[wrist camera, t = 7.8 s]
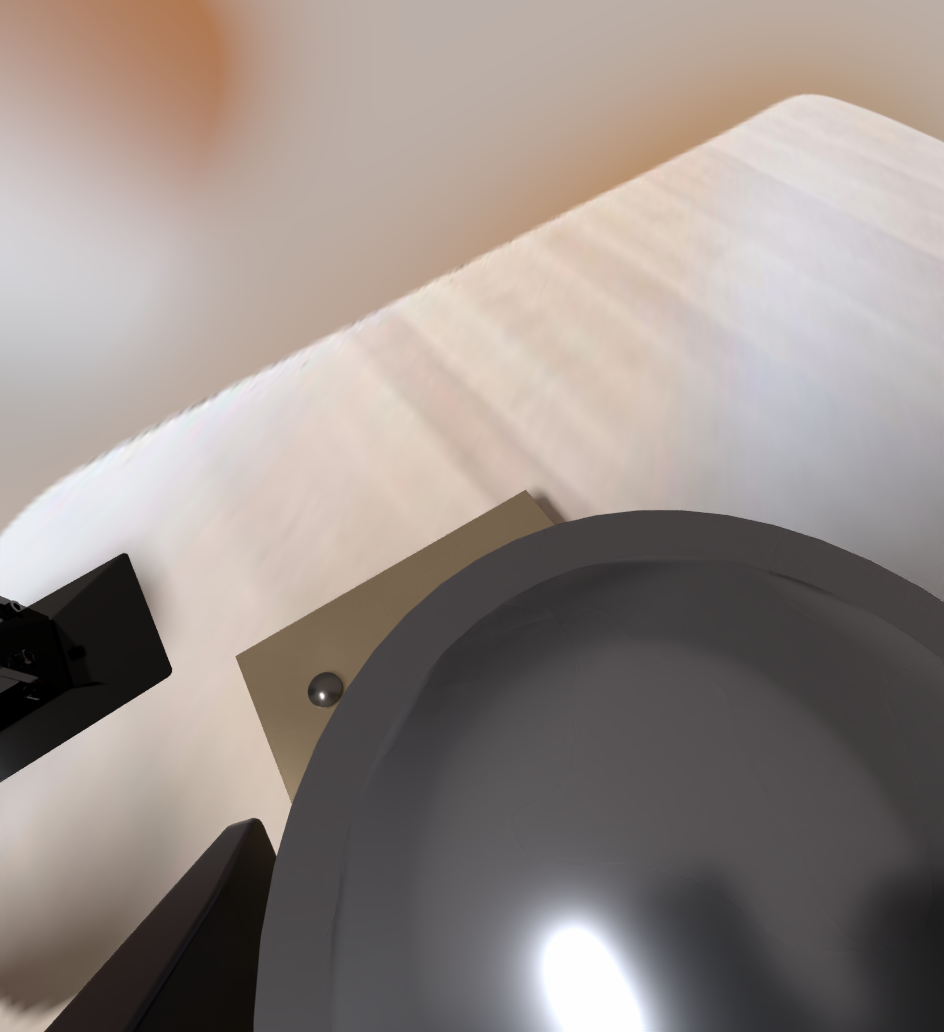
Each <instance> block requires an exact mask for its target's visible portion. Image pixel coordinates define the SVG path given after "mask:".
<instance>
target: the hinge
mask: <svg viewBox="0 0 944 1032" xmlns="http://www.w3.org/2000/svg"><path fill="white" fill-rule="evenodd" d="M551 526H554V523H553V522H552V521H551V520H550V519H549V517H548V516H547V515H546V514H545V513H544V511H543V510H542V509H541V508H540V507H539V505H538V504H537V503H536V502H535V500H534V499H533V498H532V497H531V496H530V494H529V493H528V492H527V491H526V490H525V491H523V492H521V493H519V494H518V495H516V496H514V497H512V498H511V499H509V500H507V501H505V502H504V503H502V504H500V505H499V506H497V507H495V508H493V509H492V510H490V511H488V512H486V513H485V514H483V515H481V516H479V517H478V518H476V519H474V520H472V521H471V522H469V523H467V524H465V525H464V526H462V527H460V528H458V529H457V530H455V531H453V532H451V533H450V534H448V535H446V536H444V537H443V538H441V539H439V540H437V541H436V542H434V543H432V544H430V545H429V546H427V547H425V548H423V549H422V550H420V551H418V552H417V553H415V554H413V555H411V556H410V557H408V558H406V559H404V560H403V561H401V562H399V563H397V564H396V565H394V566H392V567H390V568H389V569H387V570H385V571H383V572H382V573H380V574H378V575H376V576H375V577H373V578H371V579H369V580H368V581H366V582H364V583H362V584H361V585H359V586H357V587H355V588H354V589H352V590H350V591H348V592H347V593H345V594H343V595H342V596H340V597H338V598H336V599H335V600H333V601H331V602H329V603H328V604H326V605H324V606H322V607H321V608H319V609H317V610H315V611H314V612H312V613H310V614H308V615H307V616H305V617H303V618H301V619H300V620H298V621H296V622H294V623H293V624H291V625H289V626H287V627H286V628H284V629H282V630H280V631H279V632H277V633H275V634H273V635H272V636H270V637H268V638H266V639H265V640H263V641H261V642H260V643H258V644H256V645H254V646H253V647H251V648H249V649H247V650H246V651H244V652H242V653H240V654H239V655H237V656H236V659H237V661H238V664H239V667H240V669H241V672H242V674H243V677H244V680H245V682H246V685H247V688H248V690H249V693H250V695H251V698H252V701H253V703H254V706H255V708H256V711H257V714H258V716H259V719H260V722H261V724H262V727H263V729H264V732H265V735H266V737H267V740H268V743H269V745H270V748H271V750H272V753H273V756H274V758H275V761H276V764H277V766H278V769H279V771H280V774H281V777H282V779H283V782H284V784H285V787H286V790H287V792H288V795H289V798H290V800H291V803H293V799H294V797H295V795H296V792H297V790H298V787H299V785H300V782H301V780H302V778H303V775H304V773H305V770H306V768H307V765H308V763H309V761H310V758H311V756H312V753H313V751H314V748H315V746H316V744H317V742H318V740H319V738H320V736H321V734H322V732H323V731H324V729H325V727H326V725H327V723H328V721H329V720H330V718H331V716H332V714H333V712H334V710H335V709H336V707H337V705H338V703H339V701H340V699H341V698H342V696H343V694H344V692H345V691H346V689H347V688H348V687H349V685H350V684H351V682H352V681H353V680H354V678H355V677H356V675H357V674H358V672H359V671H360V670H361V668H362V667H363V665H364V664H365V662H366V661H367V660H368V658H369V657H370V655H371V654H372V653H373V651H374V650H375V649H376V648H377V647H378V645H379V644H380V643H381V642H382V641H383V640H384V639H385V638H386V636H387V635H388V634H389V633H390V632H391V631H392V630H393V629H394V628H395V626H396V625H397V624H398V623H399V622H400V621H401V620H402V619H403V618H404V616H405V615H406V614H407V613H408V612H410V611H411V610H412V609H413V608H414V607H415V606H416V605H418V604H419V603H420V602H421V601H422V600H423V599H424V598H426V597H427V596H428V595H429V594H430V593H431V592H432V591H434V590H435V589H436V588H437V587H438V586H439V585H440V584H442V583H443V582H445V581H446V580H448V579H449V578H450V577H452V576H453V575H455V574H456V573H458V572H459V571H461V570H462V569H464V568H465V567H467V566H468V565H470V564H471V563H472V562H474V561H475V560H477V559H479V558H481V557H483V556H485V555H486V554H488V553H490V552H492V551H494V550H496V549H498V548H500V547H502V546H504V545H506V544H508V543H510V542H512V541H514V540H516V539H518V538H521V537H524V536H527V535H529V534H532V533H535V532H538V531H540V530H543V529H546V528H548V527H551Z"/></svg>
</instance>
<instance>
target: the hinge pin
mask: <svg viewBox="0 0 944 1032" xmlns="http://www.w3.org/2000/svg"><path fill="white" fill-rule="evenodd" d="M254 1032H944V602H942V601H941V600H939V599H938V598H936V597H935V596H933V595H931V594H930V593H928V592H927V591H925V590H924V589H922V588H921V587H919V586H917V585H915V584H913V583H911V582H909V581H908V580H906V579H904V578H902V577H900V576H898V575H896V574H894V573H892V572H891V571H889V570H887V569H885V568H883V567H881V566H879V565H877V564H875V563H874V562H872V561H870V560H867V559H865V558H863V557H860V556H858V555H855V554H853V553H851V552H848V551H846V550H844V549H841V548H839V547H836V546H834V545H832V544H829V543H827V542H825V541H822V540H819V539H816V538H813V537H810V536H807V535H804V534H800V533H797V532H794V531H791V530H788V529H785V528H781V527H778V526H775V525H771V524H767V523H762V522H757V521H752V520H748V519H743V518H738V517H733V516H729V515H721V514H711V513H702V512H692V511H683V510H641V511H630V512H621V513H612V514H604V515H596V516H591V517H587V518H583V519H579V520H574V521H570V522H566V523H562V524H557V525H554V526H551V527H548V528H546V529H543V530H540V531H538V532H535V533H532V534H529V535H527V536H524V537H521V538H518V539H516V540H514V541H512V542H510V543H508V544H506V545H504V546H502V547H500V548H498V549H496V550H494V551H492V552H490V553H488V554H486V555H485V556H483V557H481V558H479V559H477V560H475V561H474V562H472V563H471V564H470V565H468V566H467V567H465V568H464V569H462V570H461V571H459V572H458V573H456V574H455V575H453V576H452V577H450V578H449V579H448V580H446V581H445V582H443V583H442V584H440V585H439V586H438V587H437V588H436V589H435V590H434V591H432V592H431V593H430V594H429V595H428V596H427V597H426V598H424V599H423V600H422V601H421V602H420V603H419V604H418V605H416V606H415V607H414V608H413V609H412V610H411V611H410V612H408V613H407V614H406V615H405V616H404V618H403V619H402V620H401V621H400V622H399V623H398V624H397V625H396V626H395V628H394V629H393V630H392V631H391V632H390V633H389V634H388V635H387V636H386V638H385V639H384V640H383V641H382V642H381V643H380V644H379V645H378V647H377V648H376V649H375V650H374V651H373V653H372V654H371V655H370V657H369V658H368V660H367V661H366V662H365V664H364V665H363V667H362V668H361V670H360V671H359V672H358V674H357V675H356V677H355V678H354V680H353V681H352V682H351V684H350V685H349V687H348V688H347V689H346V691H345V692H344V694H343V696H342V698H341V699H340V701H339V703H338V705H337V707H336V709H335V710H334V712H333V714H332V716H331V718H330V720H329V721H328V723H327V725H326V727H325V729H324V731H323V732H322V734H321V736H320V738H319V740H318V742H317V744H316V746H315V748H314V751H313V753H312V756H311V758H310V761H309V763H308V765H307V768H306V770H305V773H304V775H303V778H302V780H301V782H300V785H299V787H298V790H297V792H296V795H295V797H294V799H293V803H292V806H291V810H290V813H289V816H288V820H287V823H286V827H285V830H284V833H283V837H282V840H281V844H280V847H279V850H278V854H277V857H276V861H275V864H274V869H273V874H272V880H271V885H270V891H269V896H268V901H267V907H266V912H265V918H264V923H263V928H262V934H261V940H260V952H259V963H258V975H257V987H256V999H255V1011H254Z"/></svg>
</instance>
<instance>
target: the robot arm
mask: <svg viewBox="0 0 944 1032" xmlns="http://www.w3.org/2000/svg"><path fill="white" fill-rule="evenodd" d="M276 857H277V856H276V854H275V852H274V849H273V847H272V844H271V842H270V840H269V837H268V835H267V833H266V830H265V828H264V825H263V824H262V822H261V821H260V820H259V819H257V818H251V819H248V820H245V821H241V822H238V823H235V824H232V825H230V826H228V827H227V828H226V829H225V830H224V831H223V832H222V833H221V834H220V836H219V837H218V838H217V839H216V840H215V841H214V842H213V843H212V845H211V846H210V847H209V848H208V849H207V850H206V851H205V852H204V853H203V855H202V856H201V857H200V858H199V859H198V860H197V861H196V862H195V864H194V865H193V866H192V867H191V868H190V869H189V870H188V871H187V873H186V874H185V875H184V876H183V877H182V878H181V879H180V880H179V881H178V883H177V884H176V885H175V886H174V887H173V888H172V889H171V890H170V892H169V893H168V894H167V895H166V896H165V897H164V898H163V899H162V900H161V902H160V903H159V904H158V905H157V906H156V907H155V908H154V909H153V911H152V912H151V913H150V914H149V915H148V916H147V917H146V918H145V920H144V921H143V922H142V923H141V924H140V925H139V926H138V927H137V928H136V930H135V931H134V932H133V933H132V934H131V935H130V936H129V937H128V939H127V940H126V941H125V942H124V943H123V944H122V945H121V946H120V947H119V949H118V950H117V951H116V952H115V953H114V954H113V955H112V956H111V958H110V959H109V960H108V961H107V962H106V963H105V964H104V965H103V967H102V968H101V969H100V970H99V971H98V972H97V973H96V974H95V975H94V977H93V978H92V979H91V980H90V981H89V982H88V983H87V984H86V986H85V987H84V988H83V989H82V990H81V991H80V992H79V993H78V994H77V996H76V997H75V998H74V999H73V1000H72V1001H71V1002H70V1003H69V1005H68V1006H67V1007H66V1008H65V1009H64V1010H63V1011H62V1012H61V1013H60V1015H59V1016H58V1017H57V1018H56V1019H55V1020H54V1021H53V1022H52V1024H51V1025H50V1026H49V1027H48V1028H47V1029H46V1030H45V1031H44V1032H254V1011H255V999H256V987H257V975H258V963H259V952H260V940H261V934H262V928H263V923H264V918H265V912H266V907H267V901H268V896H269V891H270V885H271V880H272V874H273V869H274V864H275V861H276Z"/></svg>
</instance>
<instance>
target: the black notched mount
mask: <svg viewBox="0 0 944 1032" xmlns="http://www.w3.org/2000/svg"><path fill="white" fill-rule="evenodd" d="M171 673H172V667H171V665H170V662H169V659H168V657H167V654H166V652H165V649H164V647H163V644H162V641H161V639H160V636H159V634H158V631H157V629H156V626H155V623H154V621H153V618H152V616H151V613H150V610H149V608H148V605H147V603H146V600H145V598H144V595H143V592H142V590H141V587H140V585H139V582H138V579H137V577H136V574H135V572H134V569H133V567H132V564H131V561H130V559H129V556H128V554H126V553H123V554H120V555H119V556H117V557H115V558H113V559H112V560H110V561H108V562H106V563H105V564H103V565H101V566H99V567H97V568H96V569H94V570H92V571H90V572H89V573H87V574H85V575H83V576H81V577H80V578H78V579H76V580H74V581H73V582H71V583H69V584H67V585H66V586H64V587H62V588H60V589H58V590H57V591H55V592H53V593H51V594H50V595H48V596H46V597H44V598H42V599H41V600H39V601H37V602H35V603H34V604H32V605H30V606H28V607H25V606H23V605H20V604H19V603H18V602H16V601H13V600H12V601H11V600H9V599H6V598H4V597H2V596H0V782H2V781H3V780H5V779H6V778H8V777H10V776H11V775H13V774H14V773H16V772H18V771H19V770H21V769H22V768H24V767H26V766H27V765H29V764H30V763H32V762H34V761H35V760H37V759H38V758H40V757H42V756H43V755H45V754H46V753H48V752H50V751H51V750H53V749H54V748H56V747H57V746H59V745H61V744H62V743H64V742H65V741H67V740H69V739H70V738H72V737H73V736H75V735H77V734H78V733H80V732H81V731H83V730H85V729H86V728H88V727H89V726H91V725H93V724H94V723H96V722H97V721H99V720H101V719H102V718H104V717H105V716H107V715H109V714H110V713H112V712H113V711H115V710H116V709H118V708H120V707H121V706H123V705H124V704H126V703H128V702H129V701H131V700H132V699H134V698H136V697H137V696H139V695H140V694H142V693H144V692H145V691H147V690H148V689H150V688H152V687H153V686H155V685H156V684H158V683H160V682H161V681H163V680H164V679H166V678H167V677H169V676H170V675H171Z"/></svg>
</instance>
